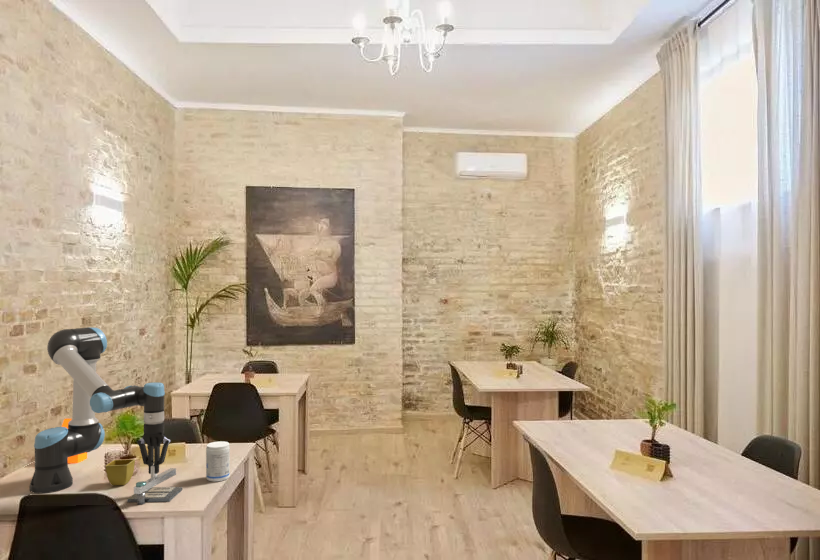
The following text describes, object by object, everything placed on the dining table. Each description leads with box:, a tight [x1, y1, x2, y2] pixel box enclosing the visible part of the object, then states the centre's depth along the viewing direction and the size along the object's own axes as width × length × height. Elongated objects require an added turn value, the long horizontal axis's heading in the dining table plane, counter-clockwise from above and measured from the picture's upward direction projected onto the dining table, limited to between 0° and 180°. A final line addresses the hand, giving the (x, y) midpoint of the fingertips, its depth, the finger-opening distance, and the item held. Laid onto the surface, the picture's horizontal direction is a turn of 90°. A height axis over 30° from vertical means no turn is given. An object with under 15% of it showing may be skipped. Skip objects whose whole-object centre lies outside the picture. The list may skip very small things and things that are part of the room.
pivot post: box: [136, 492, 146, 506], centre depth 222 cm, size 3×3×4 cm
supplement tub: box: [205, 440, 231, 483], centre depth 251 cm, size 10×10×15 cm
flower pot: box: [105, 458, 136, 487], centre depth 245 cm, size 9×9×9 cm
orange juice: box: [61, 418, 88, 464], centre depth 279 cm, size 8×9×20 cm
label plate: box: [126, 486, 183, 503], centre depth 230 cm, size 16×13×2 cm
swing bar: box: [133, 467, 177, 494], centre depth 231 cm, size 23×4×3 cm, turn 169°
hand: (153, 481), depth 233 cm, fingers closed
